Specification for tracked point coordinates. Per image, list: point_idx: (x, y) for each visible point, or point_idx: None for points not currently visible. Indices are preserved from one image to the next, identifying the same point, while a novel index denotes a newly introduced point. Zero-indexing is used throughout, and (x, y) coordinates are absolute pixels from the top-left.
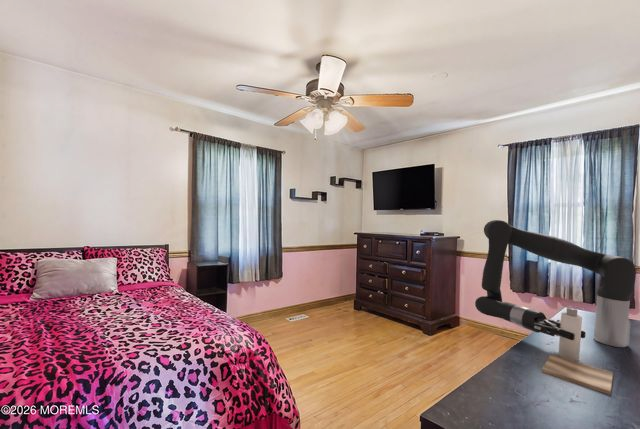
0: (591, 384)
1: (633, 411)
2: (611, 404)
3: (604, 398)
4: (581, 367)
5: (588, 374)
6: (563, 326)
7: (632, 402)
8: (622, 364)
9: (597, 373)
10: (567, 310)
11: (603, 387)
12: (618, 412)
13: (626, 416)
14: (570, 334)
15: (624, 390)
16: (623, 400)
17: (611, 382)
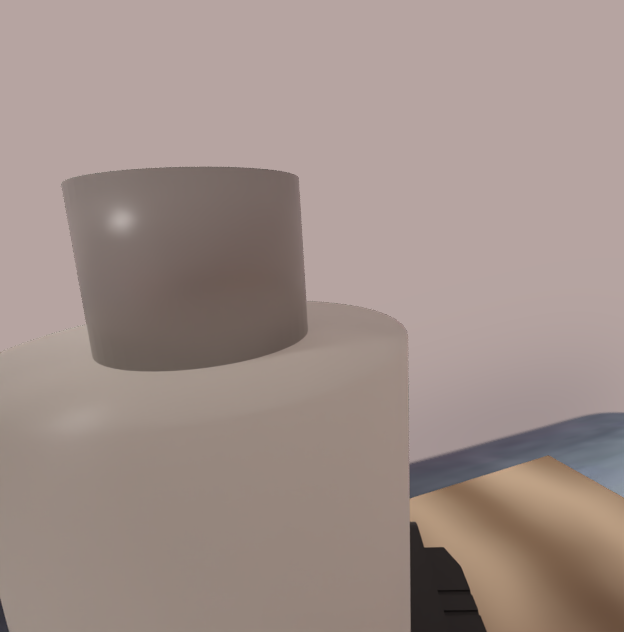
0: (609, 492)
1: (544, 427)
2: (600, 451)
3: (597, 470)
4: (487, 618)
5: (527, 547)
6: (409, 612)
7: (489, 444)
8: (3, 616)
9: (442, 542)
10: (286, 218)
11: (558, 471)
12: (613, 432)
13: (600, 422)
14: (436, 549)
15: (425, 479)
16: (515, 453)
17: (461, 483)
